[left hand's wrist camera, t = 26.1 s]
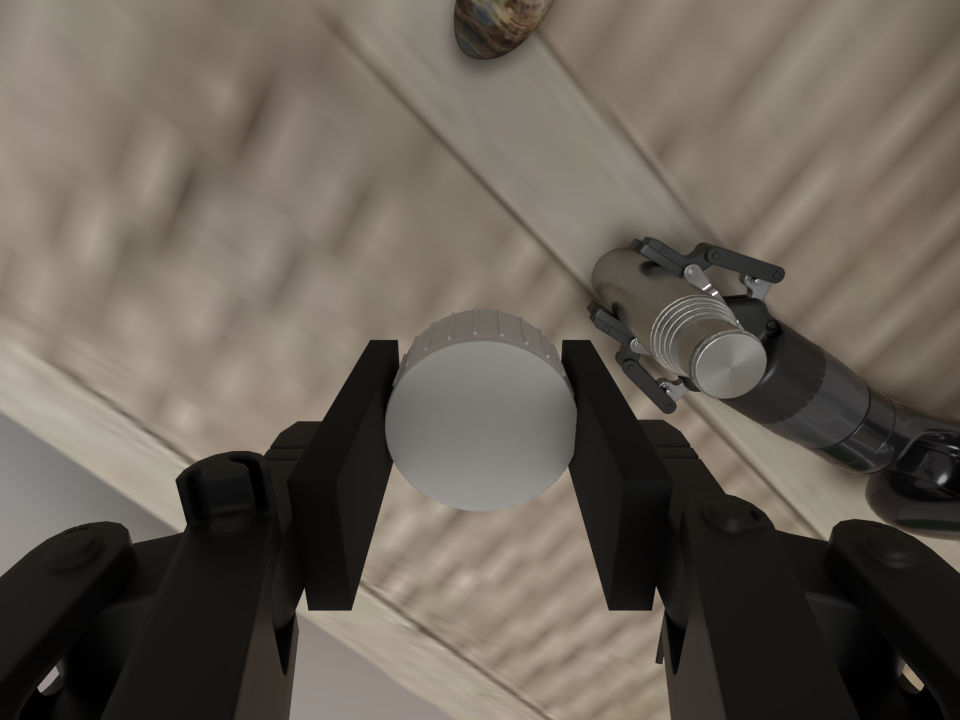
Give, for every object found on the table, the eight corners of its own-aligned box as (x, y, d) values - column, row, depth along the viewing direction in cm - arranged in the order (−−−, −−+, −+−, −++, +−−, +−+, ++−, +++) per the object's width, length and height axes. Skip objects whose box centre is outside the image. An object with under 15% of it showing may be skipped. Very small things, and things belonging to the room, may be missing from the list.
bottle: (604, 241, 43) (706, 305, 23) (657, 257, 44) (802, 334, 24) (583, 294, 45) (663, 397, 25) (635, 310, 45) (753, 423, 25)
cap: (380, 432, 15) (361, 484, 13) (425, 283, 13) (413, 311, 11) (529, 475, 15) (538, 533, 13) (591, 338, 14) (613, 375, 11)
